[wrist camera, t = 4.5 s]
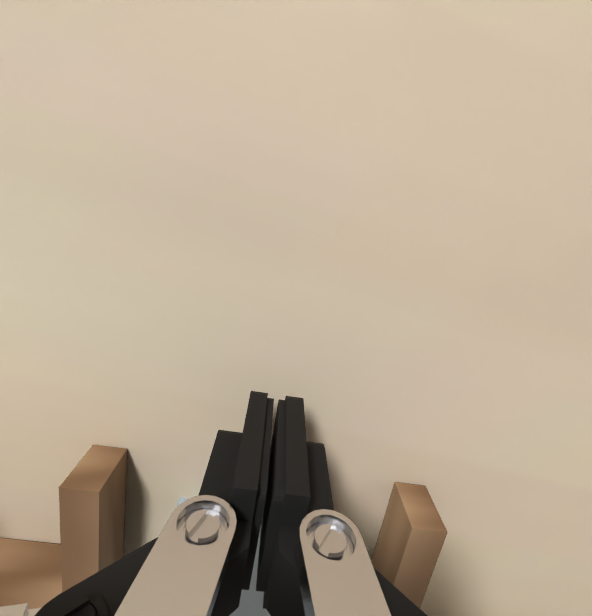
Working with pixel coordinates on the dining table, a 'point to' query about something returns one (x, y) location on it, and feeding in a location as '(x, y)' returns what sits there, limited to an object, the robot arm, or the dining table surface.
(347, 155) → the dining table surface
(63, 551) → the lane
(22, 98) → the dining table surface
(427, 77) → the dining table surface
